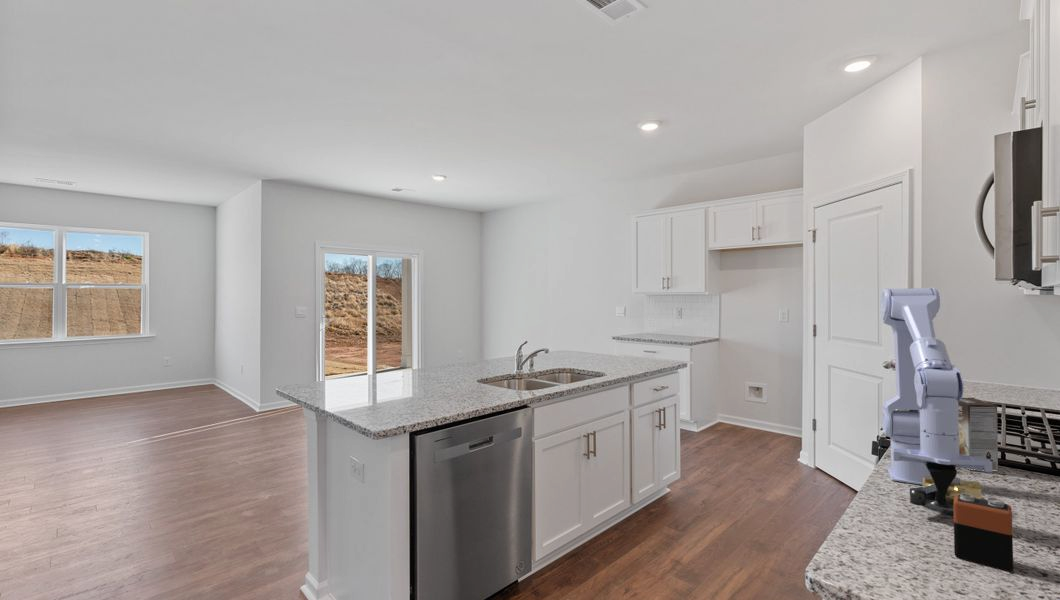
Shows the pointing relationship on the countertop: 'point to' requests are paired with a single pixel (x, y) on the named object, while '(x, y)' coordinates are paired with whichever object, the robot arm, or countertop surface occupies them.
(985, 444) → the coffee box
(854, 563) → the countertop surface
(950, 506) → the mounting plate
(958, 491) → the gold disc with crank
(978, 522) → the battery
